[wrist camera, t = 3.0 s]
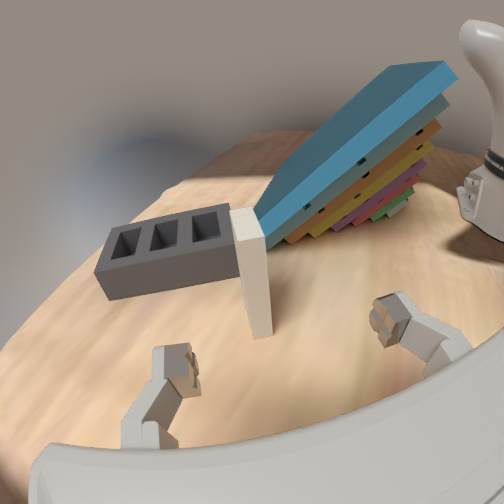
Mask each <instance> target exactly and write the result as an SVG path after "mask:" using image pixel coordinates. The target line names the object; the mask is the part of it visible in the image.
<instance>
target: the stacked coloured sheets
mask: <svg viewBox="0 0 504 504" xmlns="http://www.w3.org/2000/svg"><path fill="white" fill-rule="evenodd" d="M456 80H458V78H457V77H456V75H455V74H454V73H453V71H452V70H451V69H450V67H449V66H448V65H447V64H446V62H445V61H432V62H419V63H409V64H400V65H392V66H389V67H387V68H386V69H385V70H384V71H383V72H382V73H380V74H379V75H378V76H377V77H376V78H375V79H373V80H372V81H371V82H370V83H369V84H368V85H367V86H365V87H364V88H363V89H362V90H361V91H360V92H359V93H358V94H356V95H355V96H354V97H353V98H352V99H351V100H350V101H349V102H347V103H346V104H345V105H344V106H343V107H342V108H341V109H340V110H339V111H338V112H337V113H336V114H334V115H333V116H332V117H331V118H330V119H329V120H328V121H327V122H326V123H325V124H323V125H322V126H321V127H320V128H319V129H318V130H317V131H316V132H315V133H314V134H313V135H312V136H311V137H310V138H309V139H307V140H306V141H305V142H304V143H303V144H302V145H301V146H300V147H299V148H298V149H297V150H296V151H295V152H294V153H293V154H292V155H291V156H290V157H289V158H288V159H287V160H286V161H285V162H284V163H283V164H282V165H281V167H280V168H279V170H278V171H277V173H276V174H275V176H274V178H273V179H272V181H271V182H270V184H269V185H268V187H267V188H266V190H265V191H264V193H263V195H262V196H261V198H260V199H259V201H258V202H257V204H256V206H255V207H254V209H253V211H254V213H255V215H256V217H257V220H258V222H259V224H260V227H261V229H262V231H263V233H264V236H265V245H266V251H268V250H269V249H271V248H272V247H273V246H274V245H276V244H277V243H278V242H279V241H281V240H282V239H283V238H284V239H285V240H287V241H288V242H289V243H290V244H291V245H292V244H293V243H294V242H296V241H297V240H298V239H300V238H301V237H302V236H304V235H305V234H306V233H309V234H311V235H312V236H313V237H314V238H316V237H317V236H319V235H320V234H321V233H323V232H324V231H325V230H327V229H328V228H330V227H331V228H332V229H333V230H334V231H335V232H337V231H339V230H340V229H342V228H343V227H344V226H346V225H347V224H349V223H350V222H352V223H353V225H354V226H355V227H356V226H358V225H359V224H361V223H362V222H364V221H365V220H366V219H368V218H369V217H370V218H371V220H372V221H373V222H374V221H376V220H377V219H379V218H380V217H381V216H383V215H384V214H387V215H388V216H389V217H391V216H393V215H394V214H395V213H397V212H398V211H400V210H401V209H402V208H404V207H405V206H407V205H408V204H409V202H408V200H407V198H408V197H409V196H411V195H412V194H413V193H415V192H414V190H413V188H412V186H413V185H414V184H416V183H417V182H418V181H420V178H419V176H418V175H417V172H419V171H420V170H421V169H423V168H424V167H425V166H426V165H427V164H426V163H425V161H424V160H423V158H422V157H423V156H425V155H426V154H427V153H428V152H430V151H431V150H432V149H433V148H434V147H433V145H432V144H431V142H430V141H429V138H430V137H431V136H433V135H434V134H435V133H436V132H437V131H439V130H440V129H441V128H442V127H441V126H440V124H439V123H438V122H437V120H436V119H435V117H436V116H437V115H439V114H440V113H441V112H442V111H443V110H445V109H446V108H447V107H448V106H449V105H450V104H449V103H448V102H447V100H446V99H445V97H444V96H443V95H442V92H443V91H444V90H445V89H446V88H448V87H449V86H450V85H451V84H453V83H454V82H455V81H456Z"/></svg>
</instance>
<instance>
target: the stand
mask: <svg viewBox="0 0 504 504" xmlns="http://www.w3.org/2000/svg"><path fill="white" fill-rule="evenodd" d="M230 210H231V209H230V206H229V203H225V204H220V205H215V206H210V207H205V208H200V209H195V210H190V211H185V212H180V213H176V214H171V215H166V216H162V217H157V218H153V219H149V220H144V221H140V222H136V223H132V224H128V225H124V226H120V227H116V228H112V230H111V232H110V234H109V236H108V238H107V241H106V243H105V246H104V248H103V250H102V253H101V255H100V258H99V260H98V263H97V265H96V268H95V271H94V274H95V276H96V278H97V280H98V282H99V283H100V285H101V287H102V289H103V291H104V292H105V294H106V296H107V298H108V300H109V301H111V300H116V299H122V298H128V297H133V296H139V295H145V294H150V293H156V292H161V291H166V290H172V289H177V288H183V287H188V286H193V285H198V284H203V283H209V282H214V281H219V280H224V279H229V278H234V277H239V276H240V272H239V266H238V260H237V255H236V249H235V243H234V236H233V230H232V224H231V218H230V212H229V211H230Z"/></svg>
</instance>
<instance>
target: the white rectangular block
mask: <svg viewBox="0 0 504 504" xmlns="http://www.w3.org/2000/svg"><path fill="white" fill-rule="evenodd" d="M229 212H230V218H231V224H232V230H233V236H234V243H235V249H236V255H237V260H238V266H239V272H240V278H241V284H242V290H243V296H244V301H245V306H246V310H247V315H248V319H249V323H250V327H251V331H252V335H253V339H259V338H263V337H268V336H272V335H273V329H272V316H271V304H270V292H269V280H268V268H267V256H266V245H265V236H264V233H263V231H262V229H261V227H260V224H259V222H258V220H257V217H256V215H255V213H254V211H253V208H252V207H246V208H241V209H235V210H230V211H229Z"/></svg>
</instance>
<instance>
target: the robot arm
mask: <svg viewBox="0 0 504 504" xmlns="http://www.w3.org/2000/svg"><path fill="white" fill-rule="evenodd" d="M459 43H460V47H461V51H462V53H463V55H464V57H465V59H466V60H467V62H468V63H469V65H470V66H471V67H472V68H473V69H474V70H475V71H476V72H477V74H478V75H479V76H480V78H481V79H482V81H483V82H484V84H485V86H486V88H487V90H488V93H489V96H490V99H491V103H492V108H493V131H492V142H491V148H490V149H486V150H488V152H487V153H486V156H485V160H484V165H482V166H481V167H479V168H477V169H475V170H474V171H472V172H470V174H469V176H468V177H466V178H465V181H464V187H457V189H456V194H457V198H458V202H459V206H460V211H461V216H462V217H463V218H464V219H466V220H468V221H470V222H472V223H474V224H475V225H477V226H478V227H479V228H480V229H482V230H483V231H484V232H486V233H487V234H489V235H491V236H492V237H494V238H496V239H498V240H500V241H503V242H504V28H503V27H501V26H498V25H496V24H493V23H490V22H484V21H478V20H468V21H466V22H465V23H464V25H463V26H462V28H461V30H460V34H459ZM372 305H373V307H374V308H373V309H372V310H371V312H370V315H369V321H370V325H371V327H372V329H373V330H374V331H375V332H377V333H378V339H379V340H380V342H381V344H382V345H383V347H384V348H386V347H389V346H392V345H395V344H397V343H399V344H400V345H401V346H403V347H404V348H406V349H407V350H409V351H410V352H412V353H413V354H415V355H416V356H418V357H419V358H421V359H422V360H423V361H425V362H426V363H427V364H426V366H425V367H424V369H423V370H422V374H423V375H424V377H425V379H423V380H421V381H419V382H417V383H415V384H413V385H411V386H409V387H407V388H405V389H403V390H401V391H399V392H397V393H395V394H393V395H390V396H388V397H386V398H384V399H381V400H379V401H377V402H374V403H372V404H370V405H367V406H365V407H362V408H359V409H357V410H354V411H352V412H349V413H346V414H343V415H340V416H338V417H335V418H332V419H329V420H326V421H322V422H319V423H316V424H313V425H309V426H306V427H302V428H298V429H295V430H291V431H287V432H283V433H279V434H274V435H270V436H265V437H261V438H256V439H250V440H245V441H239V442H233V443H226V444H219V445H211V446H202V447H192V448H179V444H178V440H177V439H175V438H174V437H173V436H172V435H171V434H169V433H168V432H167V430H168V428H169V426H170V424H171V422H172V420H173V418H174V416H175V414H176V412H177V410H178V408H179V406H180V404H181V402H182V399H184V398H190V397H197V396H201V387H200V381H199V379H198V377H197V376H198V375H199V368H198V362H197V359H196V356H195V354H194V353H193V352H192V347H191V345H190V343H182V344H174V345H165V346H158V347H154V349H153V356H152V381H148V383H147V384H146V385H145V387H144V388H143V390H142V391H141V393H140V394H139V396H138V397H137V399H136V400H135V402H134V403H133V404H132V406H131V407H130V409H129V410H128V412H127V413H126V415H125V416H124V418H123V419H122V421H121V449H107V448H94V447H84V446H76V445H69V444H63V443H50V444H48V445H47V446H46V447H45V448H44V450H43V451H42V452H41V453H40V454H39V455H38V457H37V458H36V459H35V461H34V462H33V464H32V467H31V471H30V476H29V492H28V504H504V327H503V328H502V329H501V330H499V331H498V332H497V333H496V334H494V335H493V336H492V337H490V338H489V339H487V340H486V341H485V342H483V343H482V344H480V345H479V346H478V347H476V348H475V349H473V347H472V346H471V344H470V343H469V342H468V340H467V339H466V337H465V336H464V335H463V333H462V332H461V331H460V330H458V329H456V328H454V327H452V326H450V325H448V324H446V323H444V322H442V321H440V320H438V319H436V318H433V317H431V316H429V315H427V314H425V313H421V312H420V311H419V310H418V309H417V307H416V306H415V305H414V303H413V302H412V301H411V299H410V298H409V297H408V296H407V294H406V293H405V292H404V291H398V292H396V293H393V294H389V295H386V296H383V297H380V298H377V299H375V300H374V301H373V304H372Z"/></svg>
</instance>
